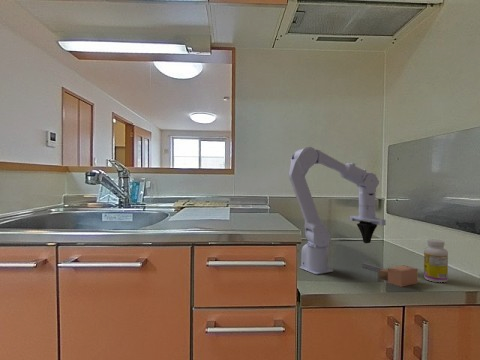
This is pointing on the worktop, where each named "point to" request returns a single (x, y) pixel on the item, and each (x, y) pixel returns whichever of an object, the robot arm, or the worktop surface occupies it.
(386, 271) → the brown rectangular block
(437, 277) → the supplement bottle
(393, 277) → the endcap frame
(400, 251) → the worktop surface
